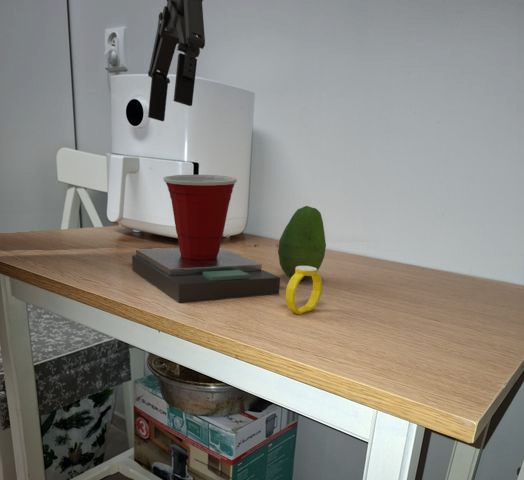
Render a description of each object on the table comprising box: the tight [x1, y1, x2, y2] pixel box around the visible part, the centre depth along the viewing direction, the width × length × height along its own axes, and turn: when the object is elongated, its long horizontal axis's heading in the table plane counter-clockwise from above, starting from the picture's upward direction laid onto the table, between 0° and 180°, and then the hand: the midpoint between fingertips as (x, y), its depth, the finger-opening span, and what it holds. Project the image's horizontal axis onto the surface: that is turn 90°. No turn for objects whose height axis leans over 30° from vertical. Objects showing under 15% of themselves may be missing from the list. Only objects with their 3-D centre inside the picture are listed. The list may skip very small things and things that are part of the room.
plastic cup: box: [162, 174, 238, 260], centre depth 74 cm, size 11×11×12 cm
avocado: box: [277, 205, 327, 281], centre depth 81 cm, size 8×8×12 cm
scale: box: [131, 247, 281, 304], centre depth 75 cm, size 19×16×4 cm
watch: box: [284, 266, 323, 315], centre depth 64 cm, size 6×3×6 cm, turn 136°
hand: (168, 112), depth 79 cm, fingers open, 13 cm apart
